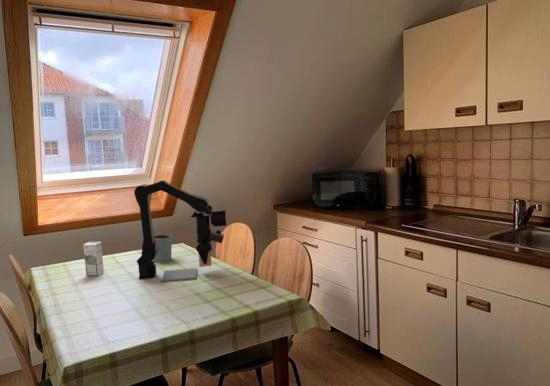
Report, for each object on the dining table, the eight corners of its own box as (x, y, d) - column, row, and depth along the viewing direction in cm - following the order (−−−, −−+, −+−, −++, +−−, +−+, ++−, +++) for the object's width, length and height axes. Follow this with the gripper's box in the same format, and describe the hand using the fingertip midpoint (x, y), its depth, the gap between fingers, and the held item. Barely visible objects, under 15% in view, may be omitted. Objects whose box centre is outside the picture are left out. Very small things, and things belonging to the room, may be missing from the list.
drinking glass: (150, 259, 222) (148, 235, 220) (171, 256, 226) (169, 233, 225) (154, 264, 213) (152, 239, 211) (175, 261, 217) (173, 236, 215)
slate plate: (161, 282, 184) (161, 280, 184) (164, 272, 198) (164, 270, 198) (196, 279, 186) (195, 277, 186) (196, 269, 200) (196, 268, 200)
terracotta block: (199, 266, 191) (198, 255, 190) (199, 263, 195) (199, 252, 195) (211, 265, 191) (210, 254, 191) (211, 262, 196) (210, 251, 196)
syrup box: (104, 272, 202) (101, 241, 201) (98, 276, 197) (95, 244, 195) (92, 272, 203) (89, 241, 201) (85, 276, 197) (82, 244, 195)
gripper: (222, 229, 183) (224, 266, 185) (221, 221, 202) (223, 255, 204) (195, 231, 182) (197, 269, 184) (196, 223, 200) (198, 257, 202)
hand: (205, 262), depth 193 cm, fingers closed on terracotta block, 5 cm apart
